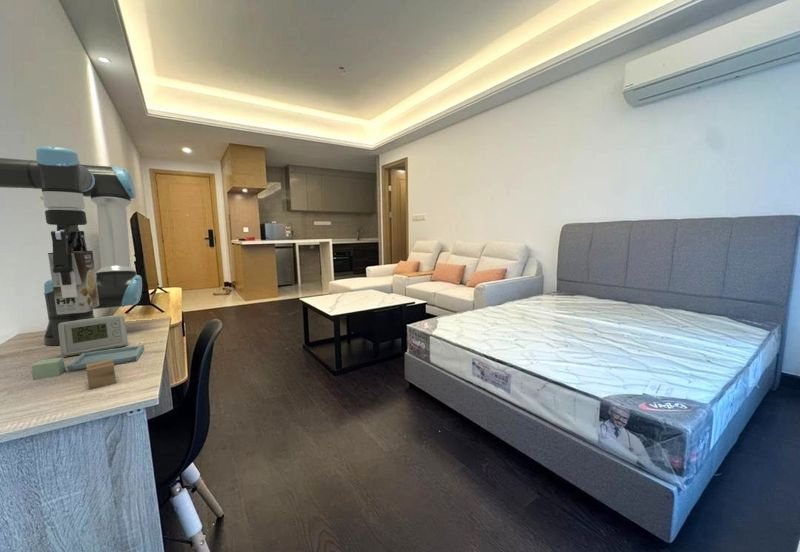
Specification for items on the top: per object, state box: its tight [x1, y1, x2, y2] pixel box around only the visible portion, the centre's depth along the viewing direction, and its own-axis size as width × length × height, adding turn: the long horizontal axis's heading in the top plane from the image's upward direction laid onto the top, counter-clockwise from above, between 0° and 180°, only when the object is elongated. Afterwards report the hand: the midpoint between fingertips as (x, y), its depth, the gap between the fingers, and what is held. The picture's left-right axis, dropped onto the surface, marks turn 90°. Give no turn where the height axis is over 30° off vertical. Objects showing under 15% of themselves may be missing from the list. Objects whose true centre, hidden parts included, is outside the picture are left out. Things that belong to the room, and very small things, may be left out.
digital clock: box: [58, 314, 129, 358], centre depth 107 cm, size 16×9×11 cm, turn 122°
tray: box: [66, 344, 145, 373], centre depth 99 cm, size 12×15×2 cm
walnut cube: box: [85, 360, 117, 390], centre depth 83 cm, size 5×5×5 cm
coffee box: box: [47, 250, 99, 315], centre depth 88 cm, size 9×6×16 cm
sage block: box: [30, 356, 66, 381], centre depth 88 cm, size 4×5×4 cm
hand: (77, 293), depth 89 cm, fingers closed on coffee box, 9 cm apart
